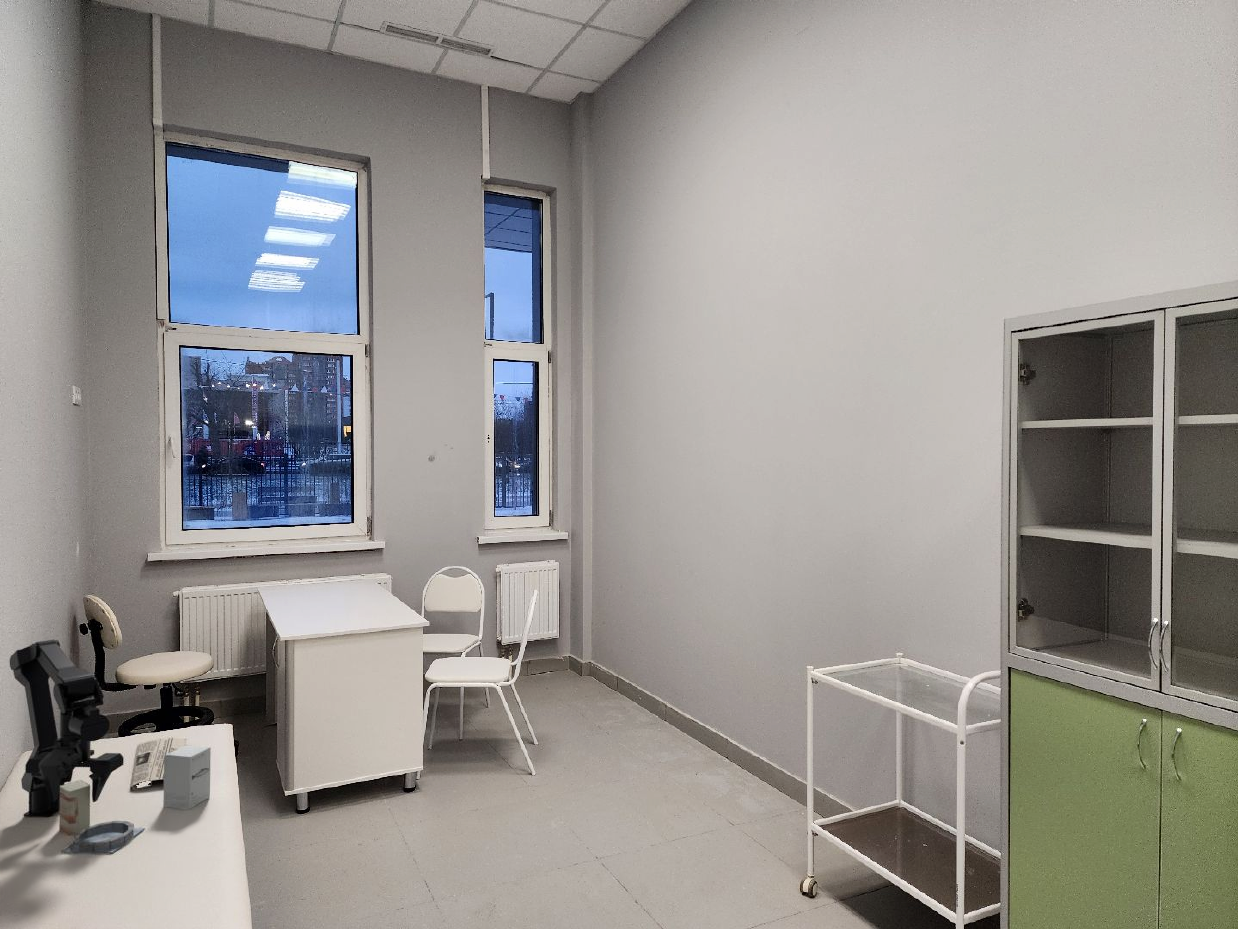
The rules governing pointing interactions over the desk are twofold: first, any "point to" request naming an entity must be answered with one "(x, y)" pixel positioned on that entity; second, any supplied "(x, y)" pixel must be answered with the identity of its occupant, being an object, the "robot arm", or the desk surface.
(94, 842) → the collar
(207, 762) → the supplement box
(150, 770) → the newspaper
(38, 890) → the desk surface
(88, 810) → the skincare box
